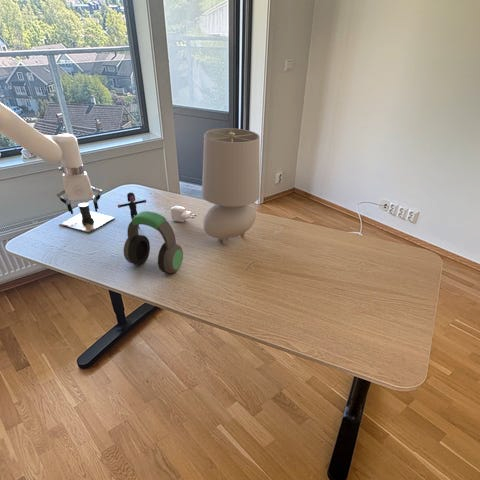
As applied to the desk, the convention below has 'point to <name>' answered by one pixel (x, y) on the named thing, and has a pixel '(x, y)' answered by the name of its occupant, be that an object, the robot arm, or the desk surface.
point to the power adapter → (180, 214)
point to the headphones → (140, 246)
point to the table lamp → (230, 181)
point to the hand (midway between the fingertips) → (84, 211)
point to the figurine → (132, 204)
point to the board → (88, 228)
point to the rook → (85, 213)
